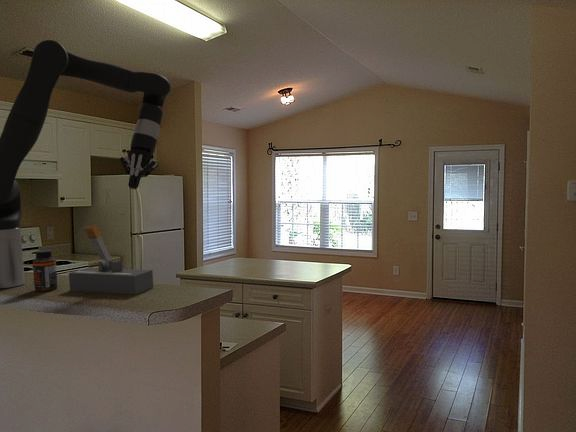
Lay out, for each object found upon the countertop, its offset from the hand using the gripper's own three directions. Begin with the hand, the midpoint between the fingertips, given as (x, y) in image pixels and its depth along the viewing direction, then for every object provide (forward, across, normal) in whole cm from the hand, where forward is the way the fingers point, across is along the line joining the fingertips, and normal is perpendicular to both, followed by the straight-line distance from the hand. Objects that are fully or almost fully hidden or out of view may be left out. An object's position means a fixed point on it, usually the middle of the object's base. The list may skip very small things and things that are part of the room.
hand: (132, 188), depth 151 cm
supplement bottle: (+35, -13, -10) cm, 38 cm away
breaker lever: (+25, +6, -10) cm, 28 cm away
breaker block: (+31, +6, -8) cm, 33 cm away
